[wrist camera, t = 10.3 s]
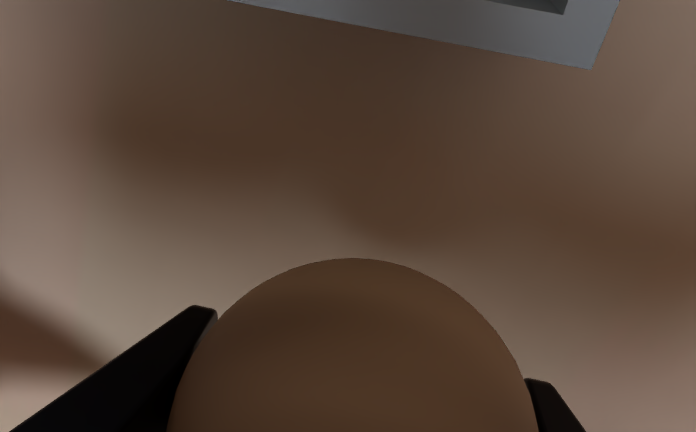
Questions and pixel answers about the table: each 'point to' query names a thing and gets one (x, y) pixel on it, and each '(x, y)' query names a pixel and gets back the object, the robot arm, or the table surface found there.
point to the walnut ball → (352, 359)
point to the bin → (478, 23)
